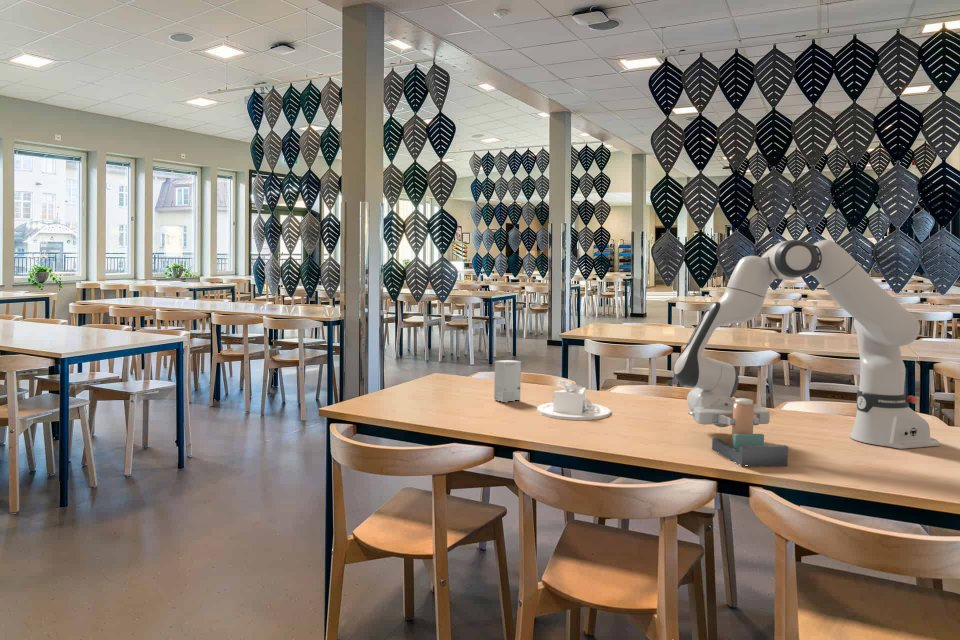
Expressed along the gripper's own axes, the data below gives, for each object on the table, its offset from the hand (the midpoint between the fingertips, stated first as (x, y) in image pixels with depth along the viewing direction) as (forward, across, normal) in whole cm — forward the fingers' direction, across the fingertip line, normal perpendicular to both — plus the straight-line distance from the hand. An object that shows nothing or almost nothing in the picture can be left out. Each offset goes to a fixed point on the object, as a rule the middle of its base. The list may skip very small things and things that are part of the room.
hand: (744, 422), depth 174 cm
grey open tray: (+2, 0, +9) cm, 9 cm away
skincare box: (-74, -53, +9) cm, 91 cm away
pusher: (+4, 0, +9) cm, 9 cm away
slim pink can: (-1, 0, +8) cm, 8 cm away
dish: (-54, -33, +10) cm, 64 cm away
